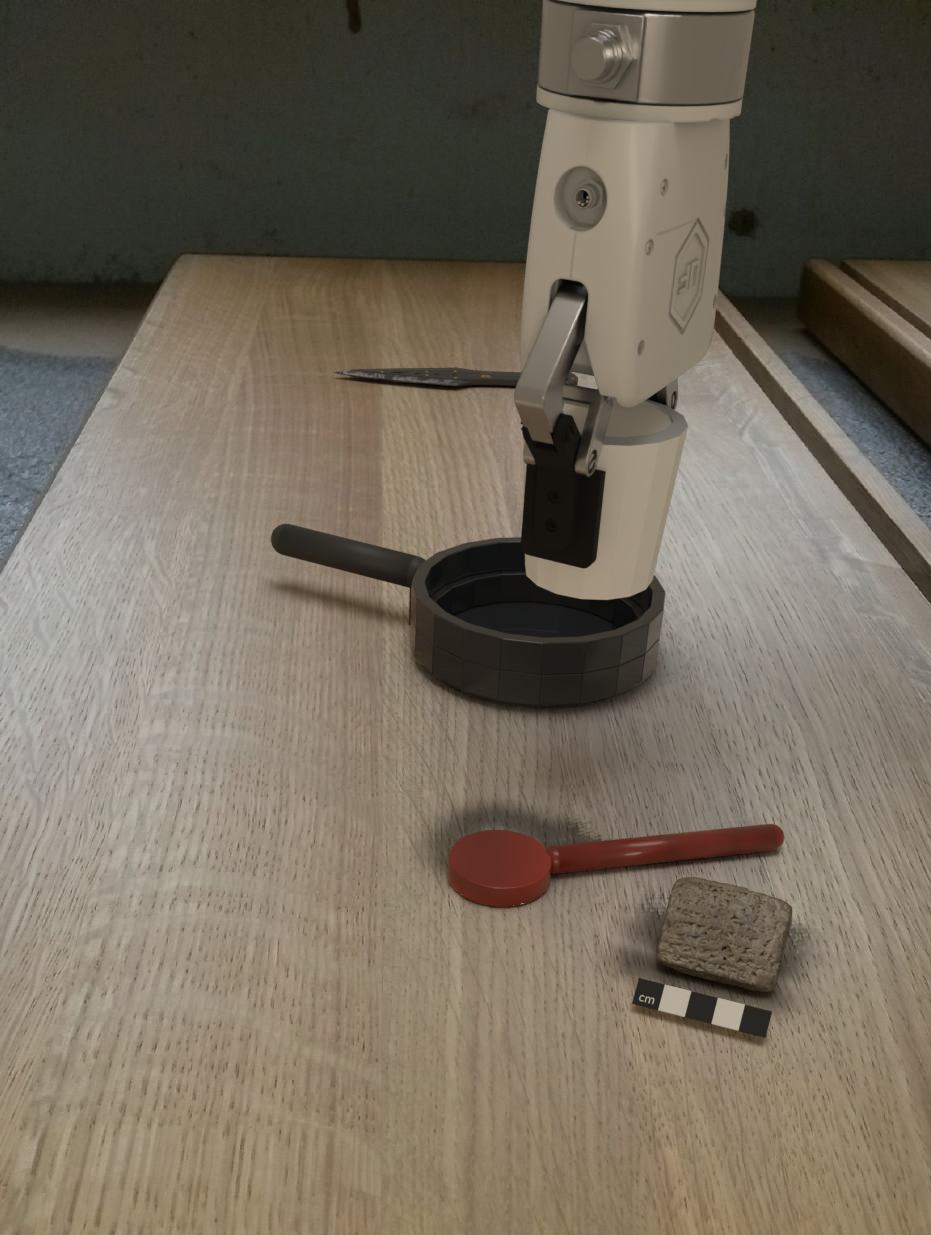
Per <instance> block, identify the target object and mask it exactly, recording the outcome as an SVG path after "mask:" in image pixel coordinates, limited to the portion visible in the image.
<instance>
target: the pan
mask: <svg viewBox="0 0 931 1235" xmlns="http://www.w3.org/2000/svg"><path fill="white" fill-rule="evenodd" d="M425 560H426V561H425V562H423V563H422V564H420V565H419V567H418V569H417V571H416V573H415V576H414V578H413V580H412V585H411V621H410V625H409V626H410V628H409V641H410V645H411V648H412V652H413V656H414V658H415V659H416V660H417V661H418V662H419V663H420V664H421V665H422V666H423V667H424V668H425V669H426V670H427V671H428V672H429V673H430V674H431V675H433V676H434V677H435V678H436V679H437V680H439V681H440V682H442V683H443V684H444V685H446V686H448V687H450V688H451V689H453V690H456V691H457V692H460V693H462V694H464V695H467V696H469V697H472V698H475V699H478V700H482V701H486V702H489V703H493V704H497V705H503V706H509V707H516V708H523V709H525V708H526V709H540V710H542V709H543V710H545V709H546V710H549V709H551V710H552V709H553V710H554V709H568V708H569V709H570V708H571V709H572V708H579V707H585V706H591V705H595V704H599V703H603V702H605V701H609V700H611V699H615V698H616V697H617V698H618V697H619V696H621V695H623V694H625V693H626V692H628V691H629V690H631V689H633V688H635V687H637V686H640V685H641V684H642V683H644V681H646V680H647V678H648V677H649V676H650V675H651V674H652V673H653V672H654V671H655V669H656V668H657V663H658V656H659V655H658V654H659V648H660V640H661V635H662V634H661V633H662V625H663V620H664V619H663V618H664V612H665V604H666V595H667V594H666V590H665V588H664V587H663V585H662V584H661V582H660V581H659V579H658V578H657V575H655V574H654V576H653V580H652V582H651V583H650V584H649V586H648V587H647V589H646V590H644V591H641V592H639V593H637V594H635V595H632V596H630V597H624V598H617V599H610V600H595V599H579V598H574V597H569V596H564V595H559V594H556V593H553V592H551V591H549V590H546V589H544V588H542V587H539V586H537V585H536V584H535V583H534V582H533V581H532V580H531V579H530V578H528V577H527V576H526V568H525V553H524V552H523V551H522V549H521V536H520V537H519V536H518V537H517V536H516V537H514V536H513V537H495V538H487V539H481V540H476V541H468V542H463V543H461V544H458V545H457V544H456V545H455V546H452V547H449V548H447V549H446V548H445V549H444V550H440V551H438V552H436V553H434V554H433V555H431V556H430V557H428V558H427V559H425Z"/></svg>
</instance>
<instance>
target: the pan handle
mask: <svg viewBox="0 0 931 1235" xmlns="http://www.w3.org/2000/svg"><path fill="white" fill-rule="evenodd" d="M270 535H271V536H270V543H271V547H272V548H273V550H274V551H275V552H276V553H278V554H279V555H281V556H285V557H289V558H293V559H297V560H300V561H304V562H308V563H312V564H315V565H319V566H324V567H328V568H331V569H334V570H335V569H336V570H339V571H341V572H342V571H343V572H347V573H350V574H354V575H358V576H362V577H366V578H370V579H373V580H378V581H381V582H385V583H389V584H393V585H396V586H400V587H405V588H409V602H408V605H409V606H408V625H409V626H410V621H411V585H412V580H413V578H414V576H415V573H416V571H417V569H418V567H419V565H420V564H422V563H423V562H425V561H426V560H427V559H426V558H423V557H422V556H420V555H415V554H412V553H407V552H403V551H400V550H396V549H391V548H387V547H384V546H380V545H375V544H372V543H368V542H364V541H359V540H356V539H352V538H348V537H344V536H339V535H335V534H331V533H327V532H323V531H320V530H315V529H311V528H307V527H303V526H300V525H296V524H293V523H292V524H291V523H281V524H279V525H277V526H275V527H274V529H273V530H272V532H271V534H270Z"/></svg>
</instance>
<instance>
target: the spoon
mask: <svg viewBox="0 0 931 1235" xmlns="http://www.w3.org/2000/svg"><path fill="white" fill-rule="evenodd" d="M784 842H785V832H784V830H783V829H782V827H781V826H780V825H777V824H775V823H764V824H762V823H761V824H753V825H743V826H734V827H725V828H724V827H723V828H714V829H704V830H694V831H684V832H675V833H665V834H656V835H647V836H646V835H645V836H636V837H627V838H626V837H625V838H617V839H616V838H615V839H608V840H599V841H597V840H596V841H587V842H578V843H577V842H576V843H568V844H559V845H557V844H556V845H551V846H549V847H547V848H546V846H545V845H544V844H542V843H541V842H540V841H538V840H536V839H535V838H533V837H531V836H529V835H526V834H525V833H521V832H518V831H513V830H506V829H486V830H485V829H484V830H478V831H476V832H472V833H469V834H467V835H464V836H463V837H461V838H459V839H458V840H456V842H454V843H453V845H452V846H451V847H450V849H449V852H448V855H447V879H448V882H449V884H450V886H451V887H452V889H453V890H454V889H455V890H457V892H458V893H457V892H456V893H457V894H459V893H460V894H462V896H461V897H463V898H465V899H466V898H467V899H466V900H468V899H470V900H469V901H470V902H474V903H476V904H479V903H482V904H481V905H483V904H484V905H483V906H487V905H492V906H491V907H495V906H496V907H497V908H509V907H508V906H512V907H517V905H519V906H521V905H520V904H521V903H526V904H529V903H532V902H533V901H532V900H534V901H535V899H536V898H537V899H539V898H540V897H541V896H543V895H544V894H545V893H546V891H547V890H548V888H549V886H550V882H551V874H555V875H556V874H566V873H567V874H568V873H574V872H575V873H576V872H584V871H594V870H602V869H612V868H622V867H631V866H640V865H641V866H642V865H650V864H659V863H668V862H670V863H671V862H678V861H688V860H698V859H705V858H706V859H707V858H714V857H725V856H734V855H742V854H743V855H744V854H753V853H763V852H772V851H776V850H778V849H779V848H781V847H782V846H783V844H784ZM455 890H454V891H455ZM545 890H546V891H545ZM543 893H544V894H543ZM460 894H459V895H460ZM540 895H541V896H540ZM538 897H539V898H538ZM537 899H536V900H537ZM531 901H532V902H531ZM528 902H529V903H528ZM513 905H514V906H513Z"/></svg>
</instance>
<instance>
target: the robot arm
mask: <svg viewBox="0 0 931 1235" xmlns="http://www.w3.org/2000/svg"><path fill="white" fill-rule="evenodd" d="M757 1H758V0H542V9H541V24H540V25H541V26H540V38H539V39H540V40H539V53H538V54H539V56H538V66H537V67H538V69H537V85H536V99H535V101H536V103H537V104H539V105H540V106H542V107H545V108H548V110H547V115H546V122H545V127H544V133H543V137H542V138H543V139H542V144H541V151H540V156H539V163H538V168H537V174H536V182H535V189H534V195H533V203H532V212H531V218H530V227H529V236H528V242H527V251H526V252H527V253H526V262H525V270H524V271H525V272H524V279H523V280H524V282H523V291H522V292H523V293H522V305H521V319H520V340H519V341H520V342H519V344H520V347H519V348H520V349H519V354H520V357H519V360H520V372H522V374H521V376H520V378H519V380H518V383H517V385H516V386H515V388H514V393H513V402H514V405H515V408H516V411H517V413H518V415H519V418H520V425H522V426H521V428H520V430H521V431H522V432H521V433H522V439H523V438H524V440H525V445H524V450H523V449H522V460H523V459H524V462H525V463H526V464H527V466H526V479H525V492H524V491H523V509H522V520H521V521H522V522H521V531H520V532H521V534H520V537H521V549H522V551H523V552H524V553H525V554H527V555H529V556H533V557H537V558H542V559H546V560H550V561H554V562H558V563H562V564H566V565H570V566H574V567H579V568H584V569H585V568H588V567H589V566H590V565H592V564H593V563H594V562H595V560H596V558H597V549H598V540H599V530H600V521H601V512H602V503H603V493H604V484H605V475H606V471H602V470H597V469H596V467H597V464H598V460H599V456H600V452H601V449H602V445H603V441H604V437H605V434H606V430H607V426H608V422H609V418H610V415H611V411H612V407H613V403H614V399H615V398H616V401H617V403H618V405H619V406H622V407H627V408H631V407H634V406H636V405H638V404H640V403H642V402H643V401H645V400H651V401H654V402H657V403H660V404H663V405H666V406H669V407H670V408H672V409H673V410H675V411H676V408H677V406H678V400H679V381H678V380H679V379H678V378H680V377H681V376H683V375H684V374H685V373H687V372H688V371H690V370H691V369H693V367H694V366H696V365H697V364H698V363H700V362H701V361H702V360H703V359H704V358H705V356H707V354H708V352H709V350H710V347H711V345H712V343H713V336H714V330H715V322H716V312H717V303H718V294H719V285H720V284H719V283H720V275H721V264H722V253H723V244H724V235H725V234H724V233H725V222H726V210H727V198H728V183H729V169H730V168H729V167H730V143H731V142H730V141H731V140H730V138H731V137H730V136H731V135H730V132H731V131H730V130H731V128H730V127H731V126H730V122H731V119H734V118H735V117H739V116H741V114H742V107H743V99H744V97H743V96H744V93H745V86H746V78H747V72H748V65H749V57H750V51H751V45H752V44H751V43H752V38H753V37H752V36H753V29H754V23H755V22H754V21H755V15H756V12H755V8H757V3H758V2H757ZM570 373H574V374H575V373H576V374H581V375H587V376H591V377H594V381H595V384H596V387H597V389H596V388H591V387H588V386H587V387H586V386H583V385H582V386H581V385H572V384H567V383H565V381H566V379H567V376H568V374H570ZM564 403H565V404H570V405H575V406H580V407H585V408H588V412H587V416H586V420H585V424H584V428H583V431H582V435H580V432H579V430H578V428H577V425H576V423H575V421H574V418H573V417H572V415H567V414H564V412H563V407H564Z"/></svg>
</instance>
